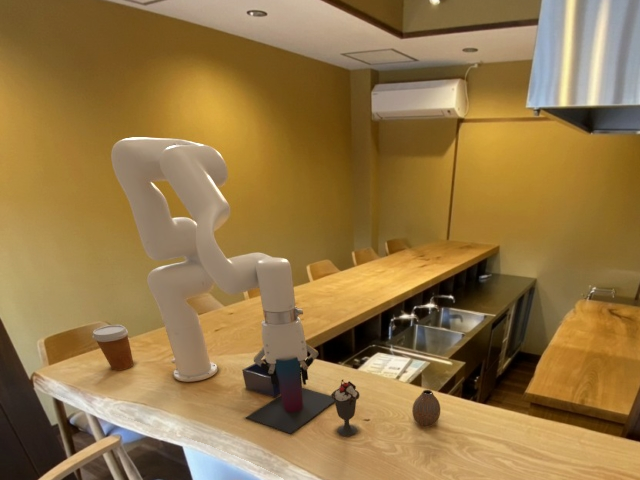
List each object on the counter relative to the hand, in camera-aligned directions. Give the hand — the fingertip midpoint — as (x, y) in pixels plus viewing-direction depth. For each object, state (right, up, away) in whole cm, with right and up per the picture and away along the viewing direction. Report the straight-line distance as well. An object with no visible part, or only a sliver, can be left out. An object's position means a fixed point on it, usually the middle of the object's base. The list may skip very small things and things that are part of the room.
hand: (290, 383), depth 108 cm
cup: (0, -6, +4) cm, 7 cm away
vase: (+35, -10, -2) cm, 36 cm away
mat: (0, -6, +4) cm, 7 cm away
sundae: (+15, -12, -5) cm, 20 cm away
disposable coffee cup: (-60, +9, +27) cm, 66 cm away
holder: (-8, +1, +15) cm, 18 cm away
